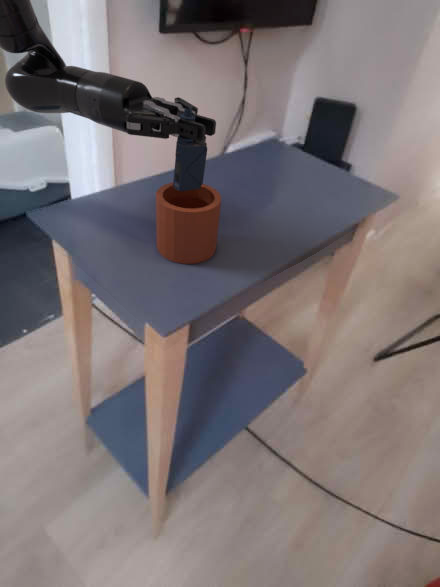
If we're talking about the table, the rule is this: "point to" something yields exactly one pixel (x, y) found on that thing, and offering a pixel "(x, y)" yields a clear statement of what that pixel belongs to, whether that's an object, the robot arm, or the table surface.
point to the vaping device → (189, 160)
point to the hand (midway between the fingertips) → (208, 130)
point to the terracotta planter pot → (187, 223)
